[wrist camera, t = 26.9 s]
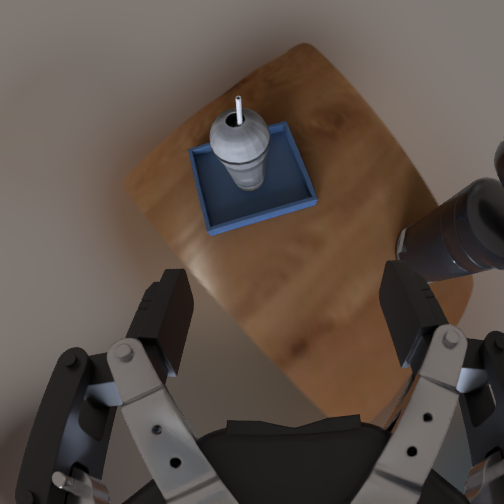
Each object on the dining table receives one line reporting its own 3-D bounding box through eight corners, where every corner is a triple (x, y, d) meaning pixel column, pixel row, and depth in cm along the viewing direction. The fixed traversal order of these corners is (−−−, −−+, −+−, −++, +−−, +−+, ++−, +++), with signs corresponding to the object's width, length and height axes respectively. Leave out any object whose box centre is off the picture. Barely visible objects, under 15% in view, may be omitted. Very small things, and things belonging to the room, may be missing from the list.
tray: (286, 129, 46) (286, 120, 44) (315, 205, 43) (317, 199, 41) (192, 156, 47) (187, 149, 44) (211, 236, 44) (207, 232, 41)
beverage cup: (244, 149, 45) (222, 60, 26) (283, 171, 44) (282, 84, 24) (216, 184, 45) (175, 105, 25) (255, 208, 43) (235, 135, 24)
